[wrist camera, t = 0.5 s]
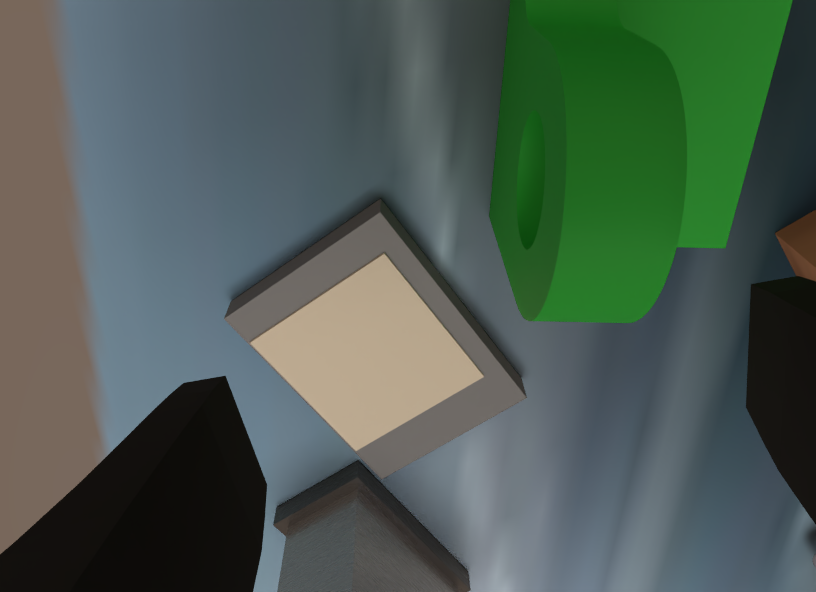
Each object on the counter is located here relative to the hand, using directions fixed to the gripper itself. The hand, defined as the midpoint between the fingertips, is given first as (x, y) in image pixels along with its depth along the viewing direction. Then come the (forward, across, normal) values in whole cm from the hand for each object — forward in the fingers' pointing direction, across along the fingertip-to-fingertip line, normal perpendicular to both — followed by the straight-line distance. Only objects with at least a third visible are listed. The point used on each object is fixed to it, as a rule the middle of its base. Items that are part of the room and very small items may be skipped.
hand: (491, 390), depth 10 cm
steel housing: (+11, +5, +14) cm, 18 cm away
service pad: (+11, +3, +5) cm, 12 cm away
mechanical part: (+11, -5, -3) cm, 13 cm away
